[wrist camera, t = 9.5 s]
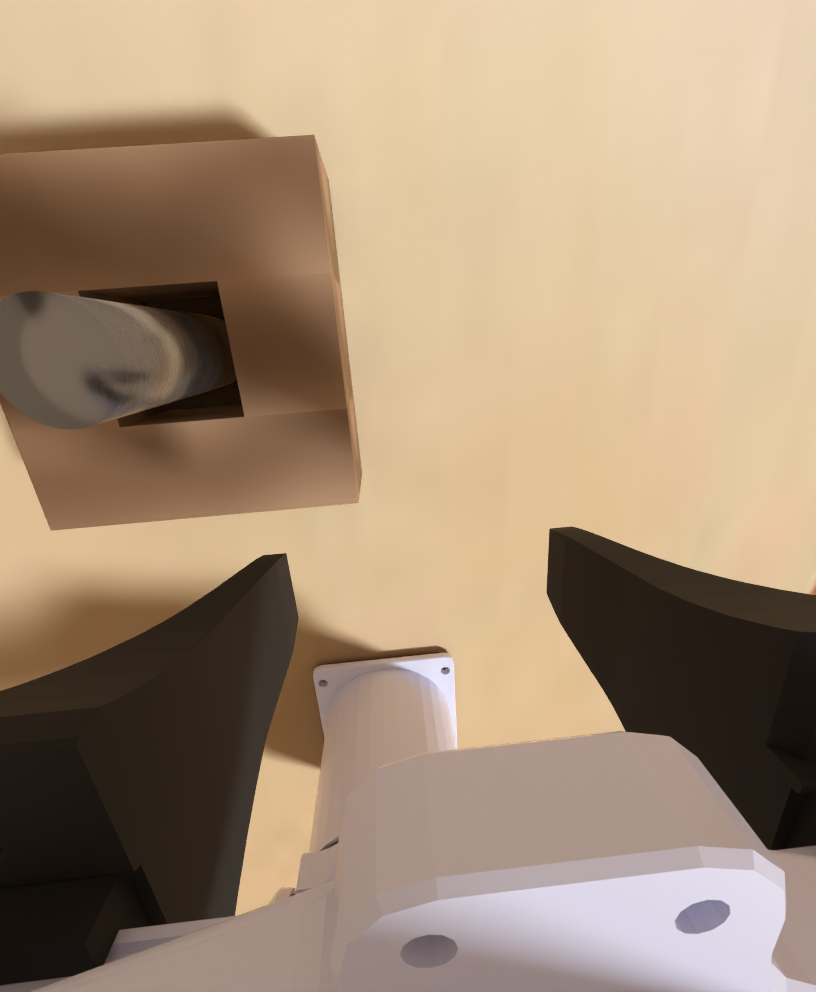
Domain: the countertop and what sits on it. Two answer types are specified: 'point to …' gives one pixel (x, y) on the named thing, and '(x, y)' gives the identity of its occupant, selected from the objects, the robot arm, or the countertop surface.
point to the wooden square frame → (183, 274)
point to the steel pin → (104, 357)
